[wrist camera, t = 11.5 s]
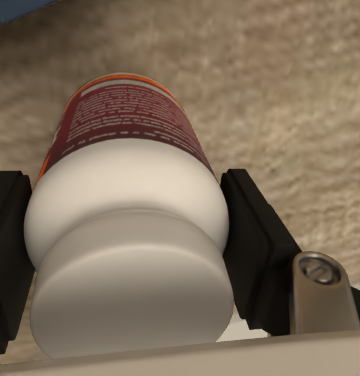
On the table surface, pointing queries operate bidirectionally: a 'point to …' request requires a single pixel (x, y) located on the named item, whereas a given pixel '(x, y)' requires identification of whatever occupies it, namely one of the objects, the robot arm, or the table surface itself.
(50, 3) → the tin
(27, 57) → the table surface
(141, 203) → the pill bottle
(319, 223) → the table surface
